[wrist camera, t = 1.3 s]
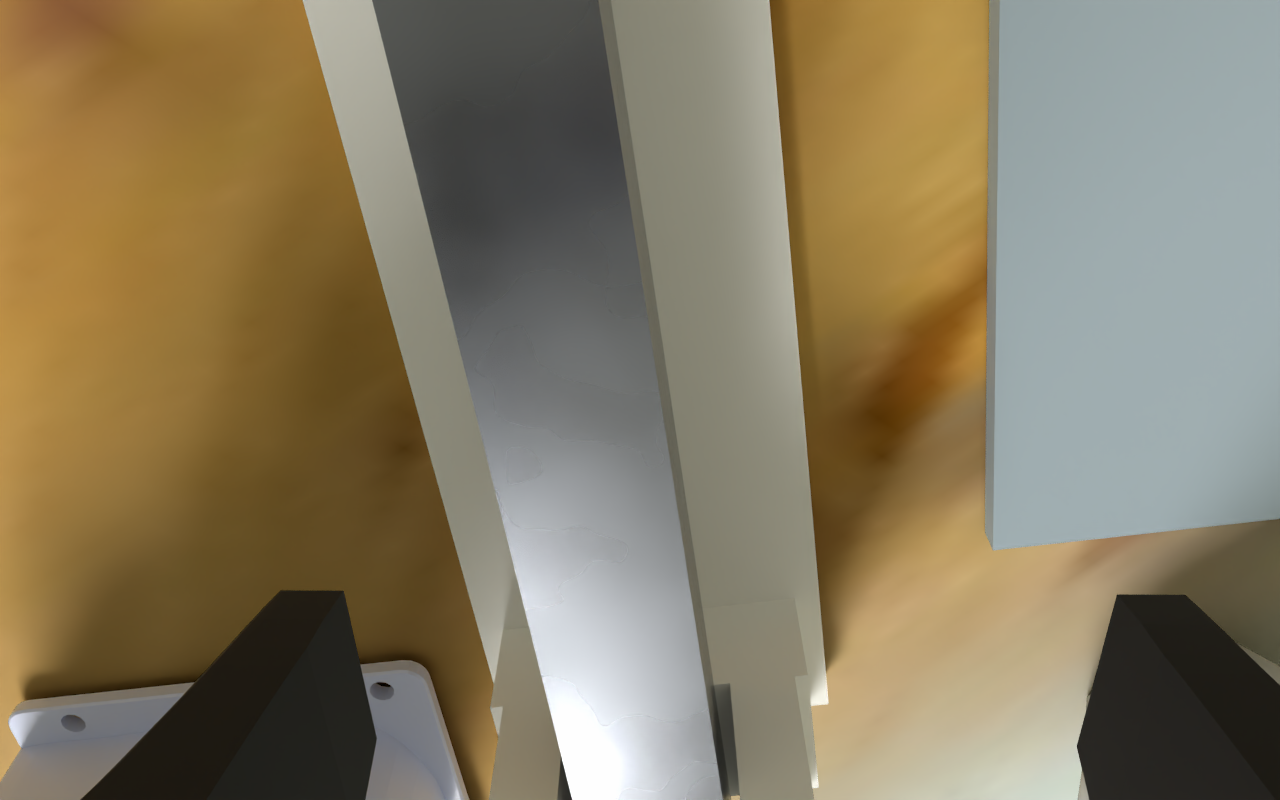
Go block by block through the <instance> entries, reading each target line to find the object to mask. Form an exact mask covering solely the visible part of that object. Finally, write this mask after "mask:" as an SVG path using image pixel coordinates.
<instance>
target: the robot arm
mask: <svg viewBox="0 0 1280 800" xmlns="http://www.w3.org/2000/svg"><path fill="white" fill-rule="evenodd" d="M377 682H385V683H387V684H389V685H391V687H382V686H380V685H378V684H377ZM73 715H76V716H78V717H80V718H78V717H75V716H73ZM8 724H9V727H10V730H11V731H12V733H13V735H14V736H15V738H16V740H17V742H18V743H19V745H20V747H21V750H20V751H19V753H18V755H17V756H16V758H15V759H14V761H13V762H12V764H11V766H10V767H9V769H8V770H7V772H6V774H5V775H4V777H3V778H2V780H1V781H0V800H469V798H468V795H467V791H466V788H465V785H464V782H463V779H462V775H461V772H460V769H459V766H458V763H457V760H456V756H455V753H454V750H453V747H452V744H451V741H450V737H449V734H448V731H447V728H446V725H445V722H444V718H443V715H442V712H441V709H440V706H439V703H438V699H437V696H436V693H435V690H434V687H433V684H432V680H431V677H430V674H429V673H428V671H427V669H426V668H425V667H423V666H422V665H421V664H419V663H417V662H414V661H410V660H398V661H389V662H380V663H370V664H361V665H360V661H359V657H358V652H357V648H356V644H355V639H354V635H353V630H352V626H351V621H350V617H349V613H348V608H347V604H346V599H345V595H344V591H284V590H281V591H280V592H279V593H278V594H277V595H276V596H275V597H274V598H273V599H272V600H271V601H270V602H269V603H268V604H267V605H266V606H265V607H264V608H263V609H262V610H261V611H260V612H259V613H258V614H257V615H256V616H255V618H254V619H253V620H252V621H251V622H250V623H249V624H248V625H247V626H246V627H245V628H244V629H243V631H242V632H241V633H240V634H239V635H238V636H237V637H236V638H235V639H234V640H233V641H232V643H231V644H230V645H229V646H228V647H227V648H226V649H225V650H224V651H223V652H222V653H221V655H220V656H219V657H218V658H217V659H216V660H215V661H214V662H213V663H212V664H211V665H210V667H209V668H208V669H207V670H206V671H205V672H204V673H203V674H202V675H201V676H200V677H199V678H198V679H197V681H196V682H193V683H183V684H174V685H164V686H155V687H146V688H136V689H127V690H118V691H108V692H99V693H90V694H80V695H71V696H62V697H52V698H43V699H33V700H27V701H23V702H21V703H20V704H18V705H17V706H16V707H15V709H14V710H13V712H12V713H11V715H10V717H9V720H8ZM1077 749H1078V753H1079V758H1080V762H1081V766H1082V771H1083V775H1084V779H1085V784H1086V788H1087V792H1088V797H1089V800H1280V685H1279V684H1278V683H1277V682H1276V681H1275V680H1274V679H1273V678H1272V677H1271V676H1270V675H1269V674H1268V673H1267V672H1266V671H1265V670H1264V669H1263V668H1261V667H1260V666H1259V665H1258V664H1257V663H1256V662H1255V661H1254V660H1253V659H1252V658H1251V657H1250V656H1249V655H1248V654H1247V653H1246V652H1245V651H1244V650H1243V649H1242V648H1241V647H1240V646H1239V645H1238V644H1237V643H1236V642H1234V641H1233V640H1232V639H1231V638H1230V637H1229V636H1228V635H1227V634H1226V633H1225V632H1224V631H1223V630H1222V629H1221V628H1220V627H1219V626H1218V625H1217V624H1216V623H1215V622H1214V621H1213V620H1212V619H1210V618H1209V617H1208V616H1207V615H1206V614H1205V613H1204V612H1203V611H1202V610H1201V609H1200V608H1199V607H1198V606H1197V605H1196V604H1194V603H1193V602H1192V601H1191V600H1190V599H1189V598H1188V597H1187V596H1186V595H1117V597H1116V601H1115V604H1114V608H1113V612H1112V616H1111V619H1110V623H1109V627H1108V631H1107V635H1106V638H1105V642H1104V646H1103V650H1102V653H1101V657H1100V661H1099V665H1098V669H1097V672H1096V676H1095V680H1094V684H1093V687H1092V691H1091V695H1090V699H1089V703H1088V706H1087V710H1086V714H1085V718H1084V721H1083V725H1082V729H1081V733H1080V737H1079V740H1078V744H1077Z"/></svg>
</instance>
